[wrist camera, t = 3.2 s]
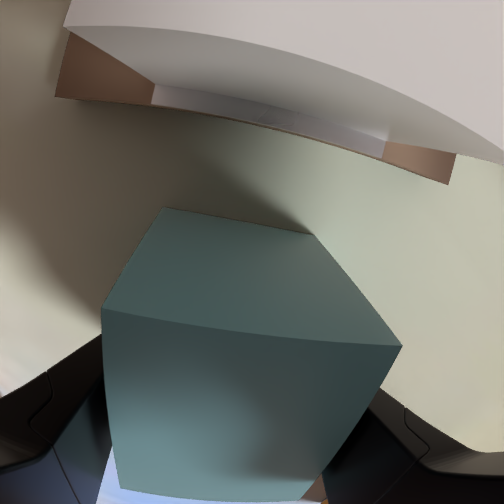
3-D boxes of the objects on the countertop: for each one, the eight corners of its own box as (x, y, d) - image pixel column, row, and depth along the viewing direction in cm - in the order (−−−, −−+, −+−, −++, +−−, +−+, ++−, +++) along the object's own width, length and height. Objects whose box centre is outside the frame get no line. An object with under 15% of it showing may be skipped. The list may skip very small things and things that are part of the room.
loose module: (314, 235, 11) (402, 345, 5) (270, 372, 13) (298, 500, 7) (162, 206, 10) (101, 308, 4) (147, 356, 12) (120, 488, 6)
